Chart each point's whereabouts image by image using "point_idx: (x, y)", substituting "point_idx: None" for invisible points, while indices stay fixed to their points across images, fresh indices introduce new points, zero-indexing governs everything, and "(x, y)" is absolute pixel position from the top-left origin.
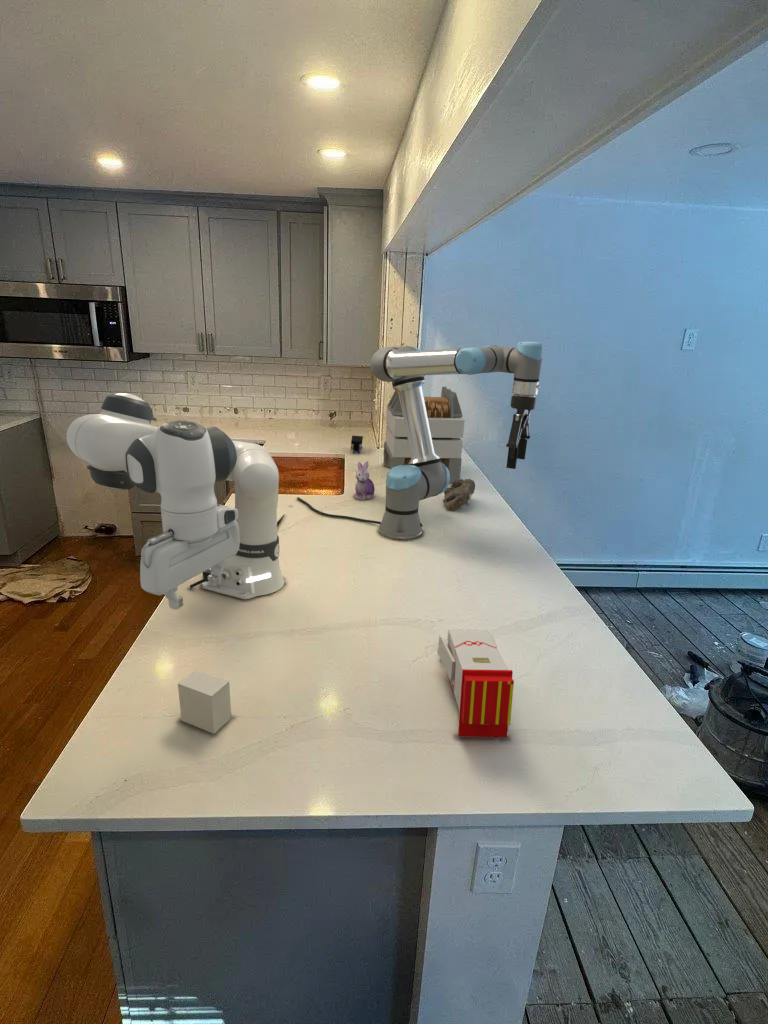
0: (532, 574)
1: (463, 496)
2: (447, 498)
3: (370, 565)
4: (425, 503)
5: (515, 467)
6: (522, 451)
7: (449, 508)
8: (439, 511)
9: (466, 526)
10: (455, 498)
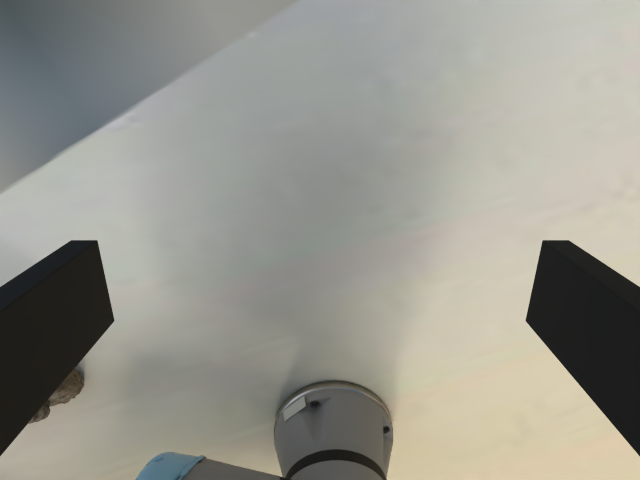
0: (461, 5)
1: None
2: (47, 416)
3: (564, 410)
4: (75, 447)
5: (570, 246)
6: (50, 315)
7: (82, 384)
8: (109, 399)
9: (176, 301)
10: (49, 398)
